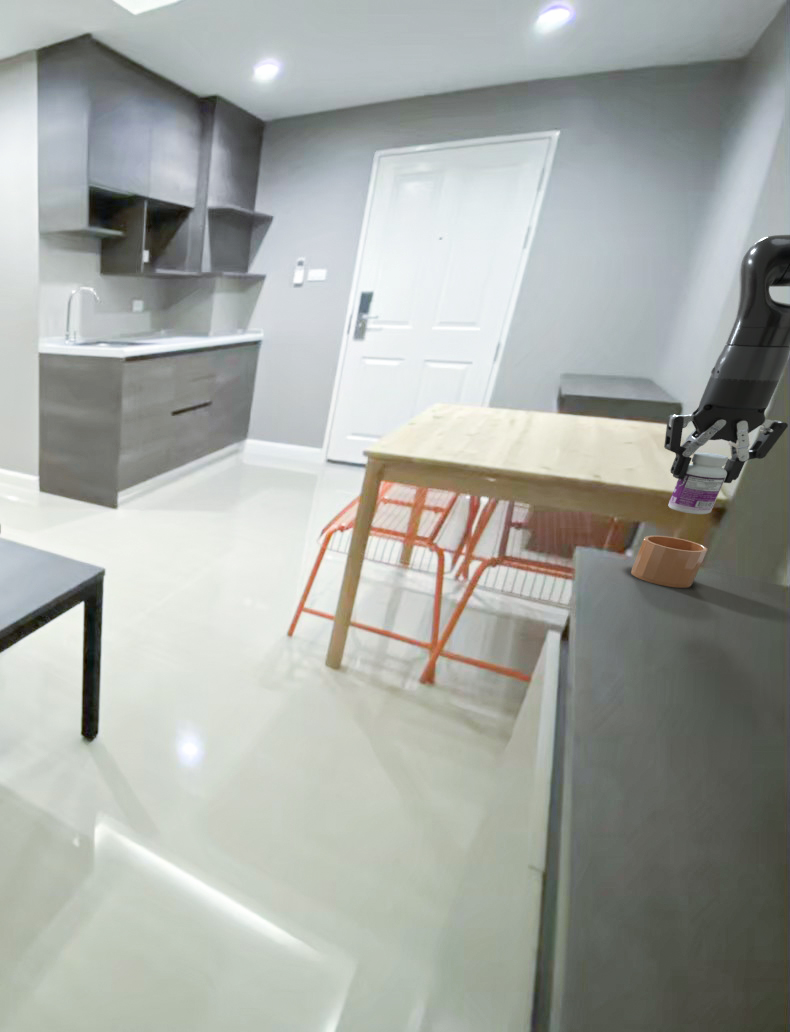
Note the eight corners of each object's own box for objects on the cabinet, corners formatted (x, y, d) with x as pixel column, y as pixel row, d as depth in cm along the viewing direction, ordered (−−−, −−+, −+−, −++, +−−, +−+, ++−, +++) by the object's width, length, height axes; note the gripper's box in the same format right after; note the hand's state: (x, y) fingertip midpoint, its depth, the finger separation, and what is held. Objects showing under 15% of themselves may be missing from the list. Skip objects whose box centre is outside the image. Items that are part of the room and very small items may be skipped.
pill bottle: (668, 503, 107) (690, 449, 104) (710, 510, 104) (734, 455, 100) (665, 509, 104) (687, 454, 100) (709, 517, 100) (734, 460, 97)
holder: (679, 575, 111) (694, 539, 108) (699, 592, 104) (716, 554, 101) (623, 567, 114) (637, 532, 111) (639, 583, 107) (654, 547, 105)
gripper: (695, 375, 95) (654, 480, 102) (824, 380, 89) (772, 490, 96) (674, 371, 102) (637, 470, 108) (793, 375, 96) (747, 479, 102)
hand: (701, 479), depth 102 cm, fingers closed on pill bottle, 5 cm apart
